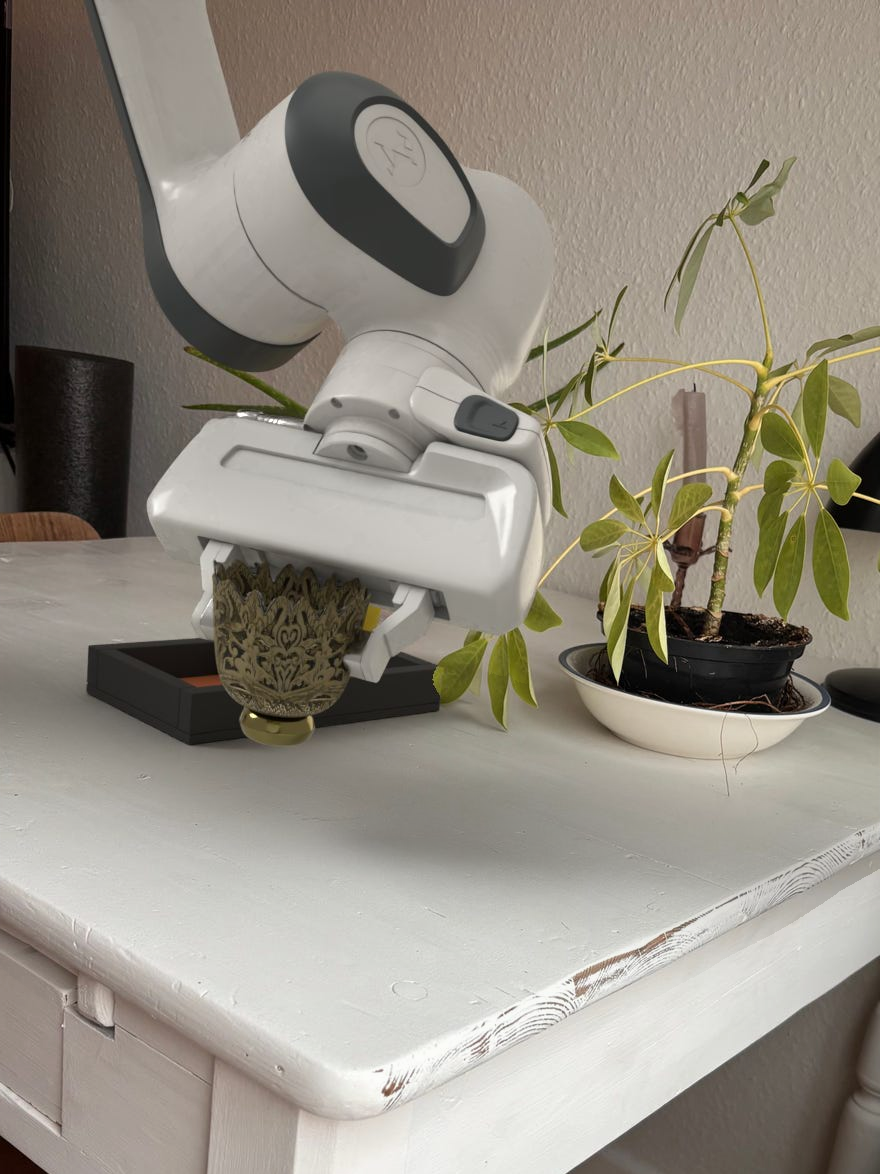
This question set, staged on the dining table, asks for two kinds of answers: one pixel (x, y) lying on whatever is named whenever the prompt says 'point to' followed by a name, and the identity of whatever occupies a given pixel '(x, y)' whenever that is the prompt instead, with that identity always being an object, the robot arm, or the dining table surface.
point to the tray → (205, 709)
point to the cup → (283, 645)
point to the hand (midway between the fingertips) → (282, 653)
